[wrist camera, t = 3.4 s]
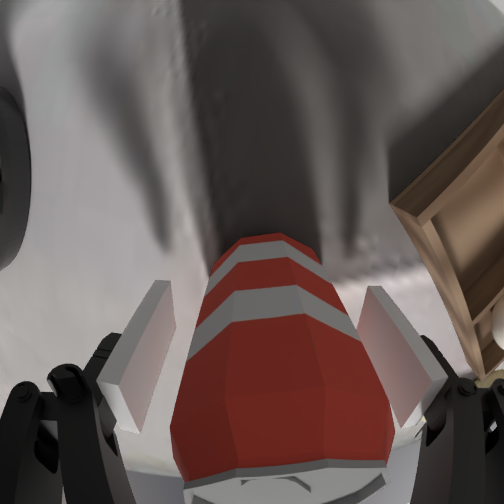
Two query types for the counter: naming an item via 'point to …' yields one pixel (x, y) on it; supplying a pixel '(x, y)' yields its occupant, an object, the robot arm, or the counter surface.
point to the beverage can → (278, 387)
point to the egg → (498, 322)
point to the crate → (464, 231)
